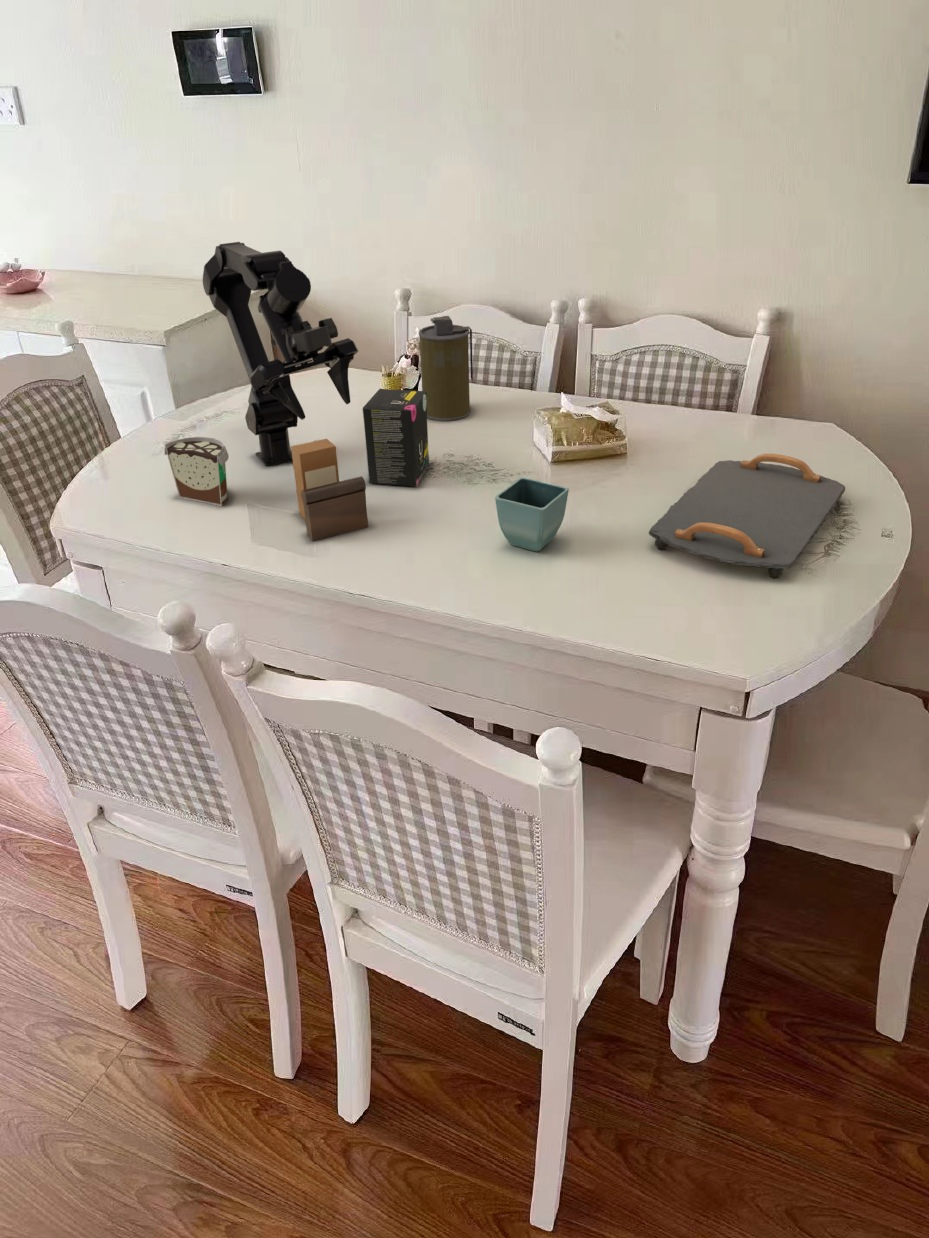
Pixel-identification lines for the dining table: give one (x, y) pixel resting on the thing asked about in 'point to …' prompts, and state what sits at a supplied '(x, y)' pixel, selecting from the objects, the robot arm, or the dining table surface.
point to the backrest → (335, 508)
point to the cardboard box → (314, 466)
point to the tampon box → (396, 437)
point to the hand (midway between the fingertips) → (326, 411)
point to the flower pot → (531, 512)
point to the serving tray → (750, 513)
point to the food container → (199, 469)
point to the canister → (446, 369)
